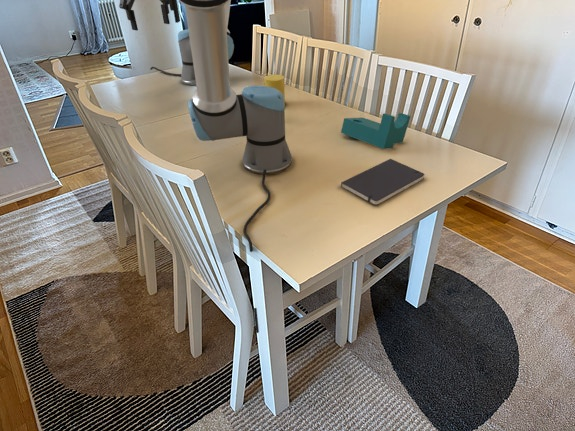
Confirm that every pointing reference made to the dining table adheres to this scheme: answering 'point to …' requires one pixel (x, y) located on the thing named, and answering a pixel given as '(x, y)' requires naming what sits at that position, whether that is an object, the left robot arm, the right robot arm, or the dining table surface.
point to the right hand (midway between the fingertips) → (198, 21)
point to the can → (275, 83)
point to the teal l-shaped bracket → (377, 130)
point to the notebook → (382, 181)
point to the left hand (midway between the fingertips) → (151, 26)
